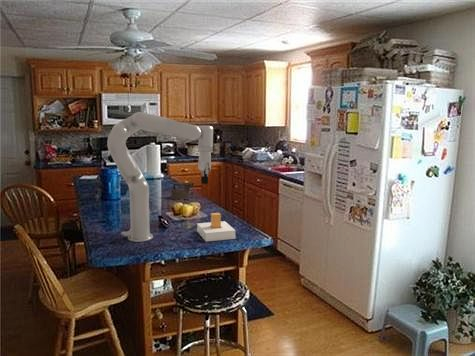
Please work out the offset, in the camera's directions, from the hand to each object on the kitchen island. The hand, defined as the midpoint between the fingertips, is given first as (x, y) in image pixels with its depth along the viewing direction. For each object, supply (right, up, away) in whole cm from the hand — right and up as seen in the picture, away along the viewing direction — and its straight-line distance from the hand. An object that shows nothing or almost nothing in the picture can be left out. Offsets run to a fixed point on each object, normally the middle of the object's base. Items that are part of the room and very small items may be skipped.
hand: (204, 183), depth 213 cm
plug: (+6, -26, +2) cm, 27 cm away
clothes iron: (-24, -13, +84) cm, 89 cm away
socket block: (+6, -28, +2) cm, 28 cm away
